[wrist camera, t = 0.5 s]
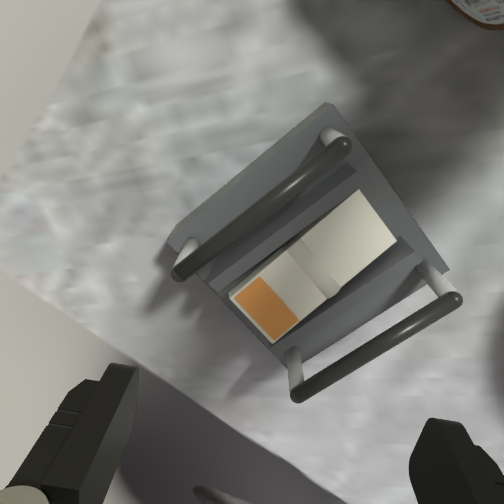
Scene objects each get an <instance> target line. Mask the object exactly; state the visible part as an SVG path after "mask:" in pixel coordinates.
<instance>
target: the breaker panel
mask: <svg viewBox="0 0 504 504" xmlns="http://www.w3.org/2000/svg"><path fill="white" fill-rule="evenodd" d="M357 189H359V190H360V191H361V193H362V194H363V195H364V197H365V198H366V199H367V201H368V202H369V204H370V205H371V206H372V208H373V209H374V210H375V212H376V213H377V214H378V216H379V217H380V219H381V220H382V221H383V223H384V224H385V225H386V227H387V228H388V229H389V231H390V232H391V233H392V235H393V236H394V238H395V239H396V240H397V241H396V242H395V243H394V244H393V245H391V246H390V247H389V248H388V249H387V250H385V251H384V252H383V253H382V254H381V255H379V256H378V257H377V258H376V259H375V260H373V261H372V262H371V263H370V264H369V265H367V266H366V267H365V268H364V269H362V270H361V271H360V272H359V273H358V274H356V275H355V276H354V277H353V278H352V279H350V280H349V281H348V282H347V283H346V284H344V285H343V286H342V287H341V288H340V290H339V291H338V293H337V294H335V295H334V296H333V297H331V298H328V299H326V300H325V301H324V302H323V303H322V304H320V305H319V306H318V307H317V308H316V309H314V310H313V311H312V312H311V313H309V314H308V315H307V316H306V317H305V318H303V319H302V320H301V321H300V322H299V323H297V324H296V325H295V326H294V327H293V328H291V329H290V330H289V331H288V332H287V333H285V334H284V335H283V336H282V337H281V338H279V339H278V340H277V341H276V342H275V343H273V344H272V343H271V342H270V341H269V340H268V339H267V338H266V337H265V336H264V335H263V334H262V332H261V331H260V330H259V329H258V328H257V327H256V326H255V325H254V324H253V323H252V322H251V321H250V320H249V319H248V318H247V317H246V315H245V314H244V313H243V312H242V311H241V310H240V309H239V308H238V307H237V306H236V305H235V304H234V303H233V302H232V301H231V300H230V299H229V295H228V292H229V291H231V290H232V289H233V288H234V287H235V286H236V285H238V284H239V283H240V282H241V281H242V280H244V279H245V278H246V277H247V276H248V275H249V274H251V273H252V272H253V271H254V270H255V269H257V268H258V267H259V266H260V265H261V264H262V263H264V262H265V261H266V260H267V259H268V258H270V257H271V256H272V255H273V254H274V253H275V252H277V251H278V250H279V249H280V248H281V247H283V245H284V244H285V243H286V242H287V241H288V240H289V239H291V238H292V237H294V236H295V235H297V234H298V233H299V232H300V231H302V230H303V229H304V228H306V227H307V226H308V225H310V224H311V223H312V222H314V221H315V220H316V219H318V218H319V217H321V216H322V215H323V214H325V213H326V212H327V211H329V210H330V209H331V208H333V207H334V206H335V205H337V204H338V203H339V202H341V201H342V200H343V199H345V198H346V197H348V196H349V195H350V194H352V193H353V192H354V191H356V190H357ZM166 242H167V243H168V244H169V245H170V246H171V247H172V248H173V249H174V250H175V251H176V252H177V253H178V254H179V256H178V258H177V260H176V262H175V264H174V266H173V268H172V270H171V276H172V278H173V279H174V280H175V281H177V282H183V281H185V280H187V279H188V278H189V277H191V276H192V275H193V274H194V273H197V274H198V275H199V276H200V277H201V279H202V280H203V281H204V282H205V283H206V284H207V285H208V286H209V287H210V288H211V289H212V290H213V291H214V292H215V293H216V294H217V295H218V296H219V297H220V299H221V300H222V301H223V302H224V303H225V304H226V305H227V306H228V307H229V308H230V309H231V310H232V311H233V312H234V313H235V314H236V315H237V316H238V317H239V318H240V320H241V321H242V322H243V323H244V324H245V325H246V326H247V327H248V328H249V329H250V330H251V331H252V332H253V333H254V334H255V335H256V336H257V337H258V338H259V340H260V341H261V342H262V343H263V344H264V345H265V346H266V347H267V348H268V349H269V350H270V351H271V352H272V353H273V354H274V355H275V356H276V357H277V358H278V360H279V361H280V362H281V363H282V364H283V365H284V366H285V367H286V368H287V369H288V378H289V389H290V398H291V400H292V401H293V402H295V403H302V402H304V401H305V400H307V399H309V398H310V397H312V396H314V395H315V394H317V393H319V392H320V391H322V390H323V389H325V388H327V387H328V386H330V385H332V384H333V383H335V382H337V381H338V380H340V379H342V378H343V377H345V376H347V375H348V374H350V373H352V372H353V371H355V370H356V369H358V368H360V367H361V366H363V365H365V364H366V363H368V362H370V361H371V360H373V359H375V358H376V357H378V356H380V355H381V354H383V353H385V352H386V351H388V350H390V349H391V348H393V347H394V346H396V345H398V344H399V343H401V342H403V341H404V340H406V339H408V338H409V337H411V336H413V335H414V334H416V333H418V332H419V331H421V330H423V329H424V328H426V327H427V326H429V325H431V324H432V323H434V322H436V321H437V320H439V319H441V318H442V317H444V316H446V315H447V314H449V313H451V312H452V311H454V310H456V309H457V308H459V307H460V306H461V305H462V303H463V298H462V296H461V295H460V294H459V293H458V291H457V290H456V289H455V288H454V287H453V286H452V285H451V284H450V283H449V282H448V281H447V280H446V279H445V278H444V277H443V276H442V274H444V273H445V272H447V271H449V270H450V269H449V268H448V266H447V265H446V263H445V262H444V261H443V259H442V258H441V256H440V255H439V253H438V252H437V251H436V249H435V248H434V246H433V245H432V244H431V242H430V241H429V239H428V238H427V236H426V235H425V234H424V232H423V231H422V229H421V228H420V227H419V225H418V224H417V222H416V221H415V219H414V218H413V217H412V215H411V214H410V212H409V211H408V210H407V208H406V207H405V205H404V204H403V202H402V201H401V200H400V198H399V197H398V195H397V194H396V193H395V191H394V190H393V188H392V187H391V185H390V184H389V183H388V181H387V180H386V178H385V177H384V176H383V174H382V173H381V171H380V170H379V168H378V167H377V166H376V164H375V163H374V161H373V160H372V159H371V157H370V156H369V154H368V153H367V151H366V150H365V149H364V147H363V146H362V144H361V143H360V141H359V140H358V139H357V137H356V136H355V134H354V133H353V132H352V130H351V129H350V127H349V126H348V124H347V123H346V122H345V120H344V119H343V117H342V116H341V115H340V113H339V112H338V110H337V109H336V107H335V106H334V105H333V104H330V103H326V102H325V103H324V104H322V105H321V106H320V107H319V108H318V109H316V110H315V111H314V112H313V113H312V114H310V115H309V116H308V117H307V118H306V119H304V120H303V121H302V122H301V123H299V124H298V125H297V126H296V127H295V128H293V129H292V130H291V131H290V132H289V133H287V134H286V135H285V136H284V137H282V138H281V139H280V140H279V141H278V142H276V143H275V144H274V145H273V146H272V147H270V148H269V149H268V150H267V151H266V152H264V153H263V154H262V155H261V156H259V157H258V158H257V159H256V160H255V161H253V162H252V163H251V164H250V165H249V166H247V167H246V168H245V169H244V170H242V171H241V172H240V173H239V174H238V175H236V176H235V177H234V178H233V179H232V180H230V181H229V182H228V183H227V184H226V185H224V186H223V187H222V188H221V189H219V190H218V191H217V192H216V193H215V194H213V195H212V196H211V197H210V198H209V199H207V200H206V201H205V202H204V203H202V204H201V205H200V206H199V207H198V208H196V209H195V210H194V211H193V212H192V213H190V214H189V215H188V216H187V217H186V218H184V219H183V220H182V221H181V222H179V223H178V224H177V225H176V226H175V228H174V229H173V231H172V233H171V234H170V236H169V238H168V239H167V241H166ZM426 284H428V285H429V286H430V288H431V289H432V290H433V291H434V292H435V294H436V295H437V296H438V297H439V298H437V299H436V300H434V301H433V302H431V303H429V304H428V305H426V306H425V307H423V308H421V309H420V310H418V311H416V312H415V313H413V314H412V315H410V316H408V317H407V318H405V319H404V320H402V321H400V322H399V323H397V324H396V325H394V326H392V327H391V328H389V329H388V330H386V331H384V332H383V333H381V334H379V335H378V336H376V337H375V338H373V339H371V340H370V341H368V342H367V343H365V344H363V345H362V346H360V347H359V348H357V349H355V350H354V351H352V352H350V353H349V354H347V355H346V356H344V357H342V358H341V359H339V360H338V361H336V362H334V363H333V364H331V365H330V366H328V367H326V368H325V369H323V370H322V371H320V372H318V373H317V374H315V375H313V376H312V377H310V378H309V379H307V380H305V381H304V377H303V370H302V363H304V362H305V361H307V360H309V359H310V358H312V357H313V356H315V355H316V354H318V353H320V352H321V351H323V350H324V349H326V348H327V347H329V346H331V345H332V344H334V343H335V342H337V341H338V340H340V339H342V338H343V337H345V336H346V335H348V334H349V333H351V332H353V331H354V330H356V329H357V328H359V327H360V326H362V325H364V324H365V323H367V322H368V321H370V320H371V319H373V318H375V317H376V316H378V315H379V314H381V313H382V312H384V311H386V310H387V309H389V308H390V307H392V306H393V305H395V304H397V303H398V302H400V301H401V300H403V299H404V298H406V297H408V296H409V295H411V294H412V293H414V292H415V291H417V290H419V289H420V288H422V287H423V286H425V285H426Z"/></svg>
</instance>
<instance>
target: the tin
mask: <svg viewBox="0 0 504 504" xmlns="http://www.w3.org/2000/svg"><path fill="white" fill-rule="evenodd" d="M447 1H448V2H449V3H450V4H451V5H452V6H453V7H454V8H455V9H456V10H457V11H458V12H459V13H460V14H462V15H463V16H464V17H465V18H467V19H468V20H470V21H471V22H473V23H474V24H476V25H478V26H480V27H482V28H484V29H488V30H499V31H504V0H447Z"/></svg>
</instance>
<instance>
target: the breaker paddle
mask: <svg viewBox="0 0 504 504" xmlns="http://www.w3.org/2000/svg"><path fill="white" fill-rule="evenodd" d="M396 241H397V240H396V239H395V238H394V236H393V235H392V233H391V232H390V231H389V229H388V228H387V227H386V225H385V224H384V223H383V221H382V220H381V219H380V217H379V216H378V214H377V213H376V212H375V210H374V209H373V208H372V206H371V205H370V204H369V202H368V201H367V199H366V198H365V197H364V195H363V194H362V193H361V191H360V190H359V189H357V190H356V191H354V192H353V193H352V194H350V195H349V196H348V197H346V198H345V199H343V200H342V201H341V202H339V203H338V204H337V205H335V206H334V207H333V208H331V209H330V210H329V211H327V212H326V213H325V214H323V215H322V216H321V217H319V218H318V219H316V220H315V221H314V222H312V223H311V224H310V225H308V226H307V227H306V228H304V229H303V230H302V231H300V232H299V233H298V234H297V235H295V236H294V237H292V238H291V239H289V240H288V241H287V242H286V243H285V244H284V245H283V247H281V248H280V249H279V250H278V251H277V252H275V253H274V254H273V255H272V256H271V257H270V258H268V259H267V260H266V261H265V262H264V263H262V264H261V265H260V266H259V267H258V268H257V269H255V270H254V271H253V272H252V273H251V274H249V275H248V276H247V277H246V278H245V279H244V280H242V281H241V282H240V283H239V284H238V285H236V286H235V287H234V288H233V289H232V290H231V291H229V292H228V295H229V299H230V300H231V301H232V302H233V303H234V304H235V305H236V306H237V307H238V308H239V309H240V310H241V311H242V312H243V313H244V314H245V315H246V317H247V318H248V319H249V320H250V321H251V322H252V323H253V324H254V325H255V326H256V327H257V328H258V329H259V330H260V331H261V332H262V334H263V335H264V336H265V337H266V338H267V339H268V340H269V341H270V342H271V343H272V344H273V343H275V342H276V341H277V340H278V339H279V338H281V337H282V336H283V335H284V334H285V333H287V332H288V331H289V330H290V329H291V328H293V327H294V326H295V325H296V324H297V323H299V322H300V321H301V320H302V319H303V318H305V317H306V316H307V315H308V314H309V313H311V312H312V311H313V310H314V309H316V308H317V307H318V306H319V305H320V304H322V303H323V302H324V301H325V300H326V299H328V298H331V297H333V296H334V295H335V294H337V293H338V291H339V290H340V288H341V287H342V286H343V285H344V284H346V283H347V282H348V281H349V280H350V279H352V278H353V277H354V276H355V275H356V274H358V273H359V272H360V271H361V270H362V269H364V268H365V267H366V266H367V265H369V264H370V263H371V262H372V261H373V260H375V259H376V258H377V257H378V256H379V255H381V254H382V253H383V252H384V251H385V250H387V249H388V248H389V247H390V246H391V245H393V244H394V243H395V242H396Z"/></svg>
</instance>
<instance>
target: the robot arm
mask: <svg viewBox="0 0 504 504" xmlns="http://www.w3.org/2000/svg"><path fill="white" fill-rule="evenodd" d="M138 381H139V368H138V367H134V366H128V365H122V364H116V363H111V364H109V365H108V367H107V369H106V371H105V372H104V374H103V376H102V378H101V380H100V381H94V380H87V379H85V380H84V381H82V382H81V383H80V384H78V385H77V386H76V387H74V388H73V389H72V390H70V391H69V392H68V394H67V395H66V397H65V398H64V400H63V401H62V403H61V404H60V406H59V407H58V410H57V412H55V414H54V415H53V417H52V418H51V420H50V422H49V425H48V426H46V428H45V429H44V431H43V432H42V434H41V435H40V437H39V439H38V440H37V441H36V443H35V445H34V446H33V448H32V449H31V451H30V452H29V454H28V455H27V457H26V459H25V460H24V462H23V463H22V465H21V466H20V468H19V469H18V471H17V472H16V474H15V476H14V477H13V479H12V480H11V481H10V483H9V484H8V485H7V486H6V487H5V489H3V490H0V504H103V501H104V499H105V496H106V494H107V491H108V489H109V486H110V484H111V481H112V479H113V476H114V474H115V471H116V469H117V466H118V464H119V461H120V458H121V456H122V453H123V451H124V448H125V446H126V443H127V440H128V438H129V436H130V433H131V430H132V427H133V423H134V419H135V414H136V405H137V393H138ZM409 476H410V481H411V484H412V487H413V490H414V493H415V496H416V498H417V501H418V504H504V475H503V473H502V472H501V470H500V468H499V467H498V465H497V464H496V463H495V461H494V460H493V459H492V458H491V457H490V456H489V455H488V454H487V453H486V452H485V451H484V450H483V449H482V448H481V447H480V446H477V445H474V444H473V442H472V440H471V438H470V437H469V435H468V433H467V431H466V429H465V428H464V426H463V425H462V424H461V423H459V422H455V421H449V420H443V419H437V418H429V419H428V420H427V422H426V424H425V426H424V428H423V430H422V432H421V435H420V437H419V439H418V441H417V443H416V445H415V448H414V450H413V452H412V454H411V457H410V461H409Z"/></svg>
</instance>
